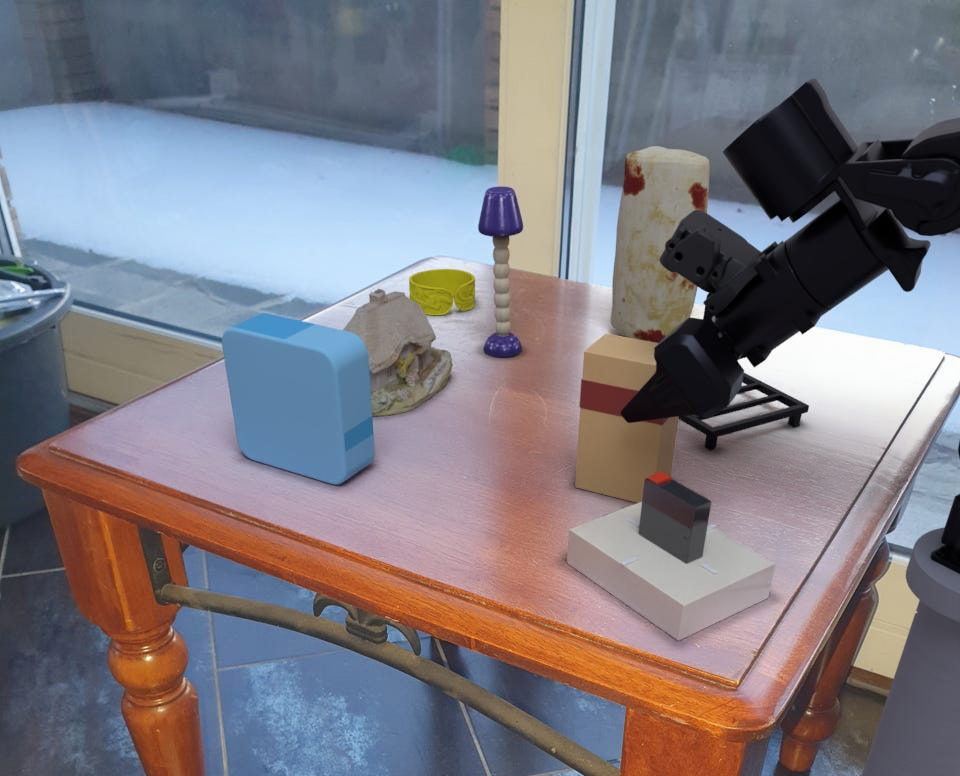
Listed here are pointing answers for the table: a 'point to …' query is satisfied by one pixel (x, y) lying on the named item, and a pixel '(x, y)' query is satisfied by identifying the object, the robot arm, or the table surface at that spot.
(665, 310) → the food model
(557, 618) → the table surface
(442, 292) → the bracelet
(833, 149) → the robot arm
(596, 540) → the light grey block
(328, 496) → the table surface
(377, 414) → the ceramic model
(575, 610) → the table surface
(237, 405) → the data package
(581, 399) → the packet
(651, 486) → the gray box
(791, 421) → the bed frame
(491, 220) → the toy lamp
